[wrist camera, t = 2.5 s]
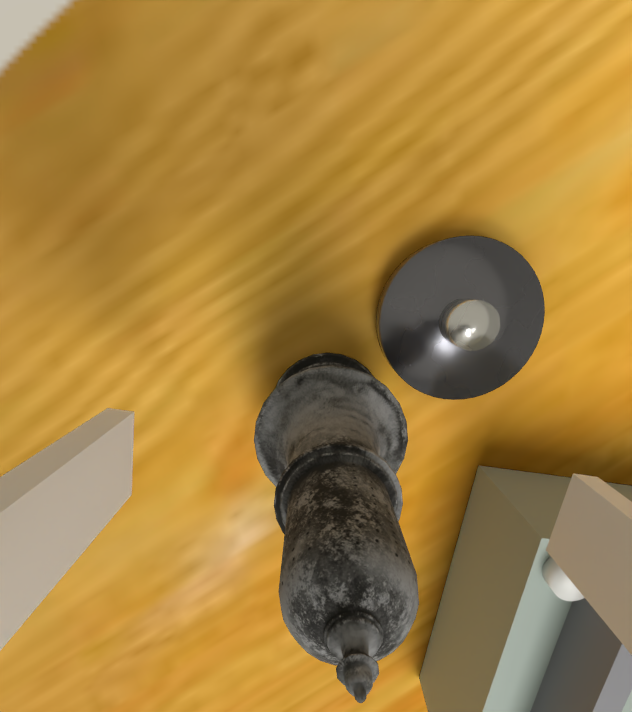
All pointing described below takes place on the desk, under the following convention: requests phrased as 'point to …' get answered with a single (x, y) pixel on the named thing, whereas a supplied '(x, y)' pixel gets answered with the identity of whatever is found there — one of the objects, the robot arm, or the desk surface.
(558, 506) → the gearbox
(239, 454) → the desk surface
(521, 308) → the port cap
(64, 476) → the robot arm
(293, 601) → the dark metal chess piece
